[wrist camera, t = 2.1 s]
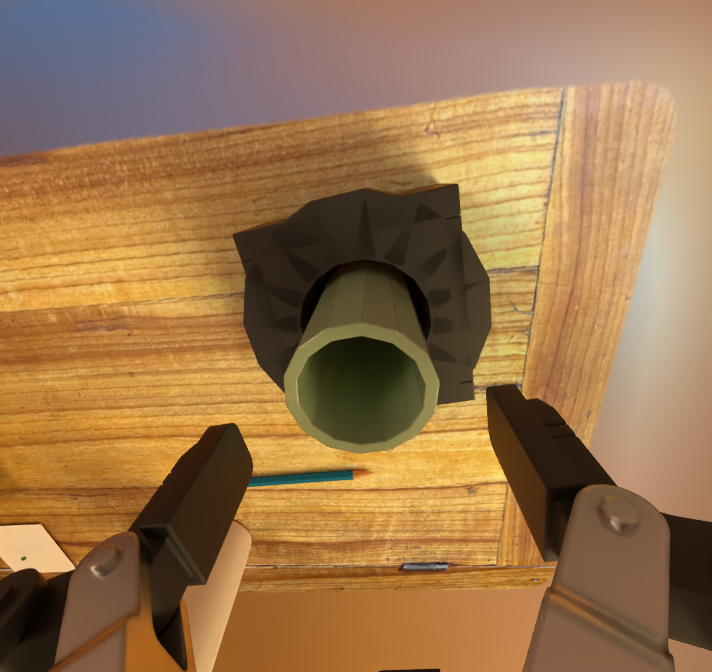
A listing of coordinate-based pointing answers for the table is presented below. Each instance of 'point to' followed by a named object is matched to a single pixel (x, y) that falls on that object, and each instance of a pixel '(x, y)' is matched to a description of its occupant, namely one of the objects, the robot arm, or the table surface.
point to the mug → (216, 597)
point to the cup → (363, 363)
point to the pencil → (307, 478)
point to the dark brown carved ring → (377, 243)
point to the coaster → (32, 549)
